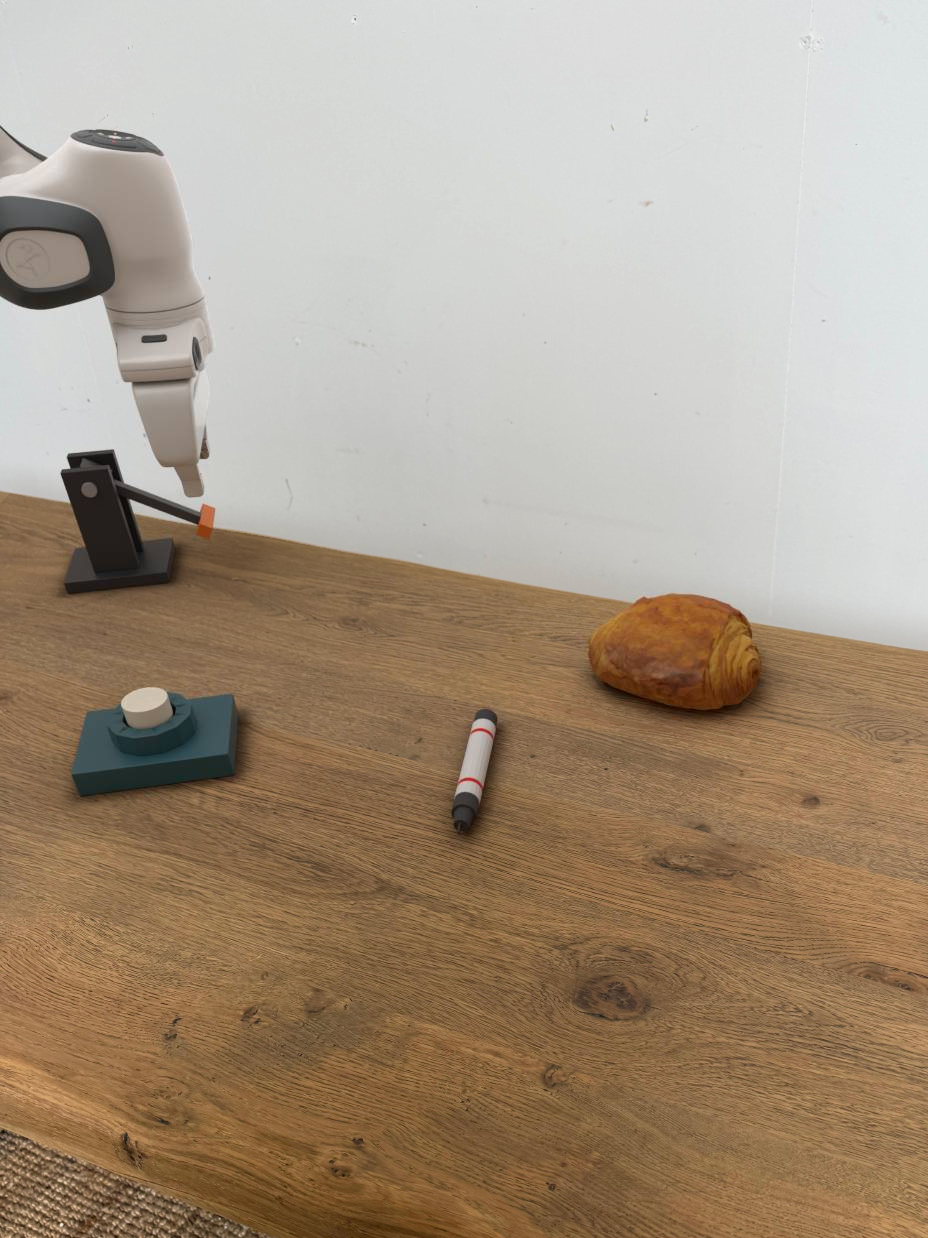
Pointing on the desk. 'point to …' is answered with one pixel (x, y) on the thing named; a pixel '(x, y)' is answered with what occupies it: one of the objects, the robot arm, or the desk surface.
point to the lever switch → (165, 505)
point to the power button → (147, 708)
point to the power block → (157, 746)
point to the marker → (474, 769)
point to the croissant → (678, 652)
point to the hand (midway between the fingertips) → (198, 475)
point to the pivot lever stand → (109, 531)
